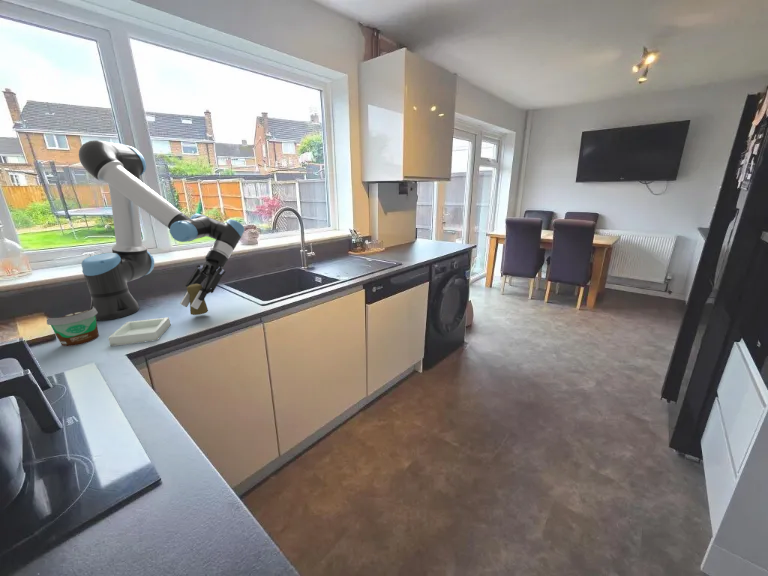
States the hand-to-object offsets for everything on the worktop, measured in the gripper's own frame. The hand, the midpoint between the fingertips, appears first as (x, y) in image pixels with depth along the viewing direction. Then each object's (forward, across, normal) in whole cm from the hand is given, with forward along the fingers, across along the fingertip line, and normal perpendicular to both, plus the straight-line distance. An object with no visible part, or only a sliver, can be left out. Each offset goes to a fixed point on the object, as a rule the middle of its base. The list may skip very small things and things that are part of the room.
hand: (188, 306), depth 120 cm
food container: (+22, +17, +14) cm, 31 cm away
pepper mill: (0, 0, -5) cm, 5 cm away
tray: (+15, +4, +7) cm, 17 cm away
